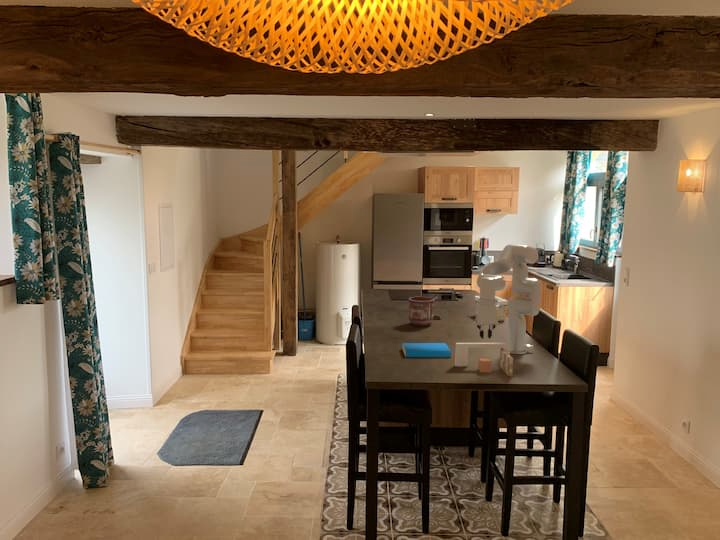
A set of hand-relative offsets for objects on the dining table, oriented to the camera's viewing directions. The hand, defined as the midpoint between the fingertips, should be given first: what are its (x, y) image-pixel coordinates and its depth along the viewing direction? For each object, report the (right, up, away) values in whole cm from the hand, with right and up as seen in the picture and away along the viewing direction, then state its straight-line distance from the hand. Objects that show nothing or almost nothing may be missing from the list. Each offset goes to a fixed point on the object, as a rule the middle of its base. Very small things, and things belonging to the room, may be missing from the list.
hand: (485, 337), depth 290 cm
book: (-26, -13, +34) cm, 44 cm away
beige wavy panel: (+10, -17, +1) cm, 20 cm away
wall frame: (+1, -16, +11) cm, 19 cm away
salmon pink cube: (0, -17, +2) cm, 17 cm away
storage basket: (+30, -1, +126) cm, 129 cm away
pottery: (-22, -3, +102) cm, 105 cm away
